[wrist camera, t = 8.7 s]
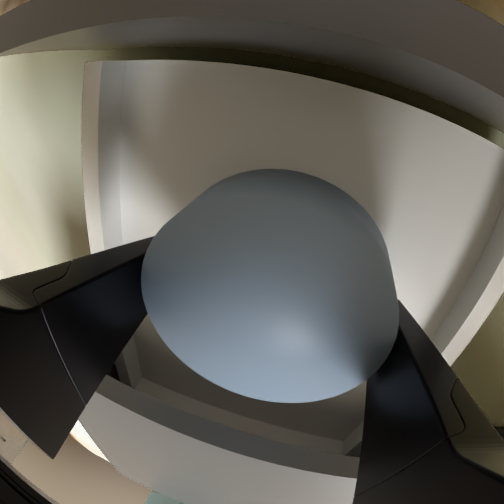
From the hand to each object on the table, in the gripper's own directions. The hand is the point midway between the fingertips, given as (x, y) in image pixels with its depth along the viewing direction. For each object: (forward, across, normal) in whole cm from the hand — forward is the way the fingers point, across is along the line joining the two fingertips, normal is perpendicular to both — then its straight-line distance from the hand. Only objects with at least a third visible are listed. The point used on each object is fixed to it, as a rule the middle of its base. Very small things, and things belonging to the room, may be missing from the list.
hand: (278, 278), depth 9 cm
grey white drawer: (+3, 0, +2) cm, 4 cm away
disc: (0, 0, 0) cm, 0 cm away
